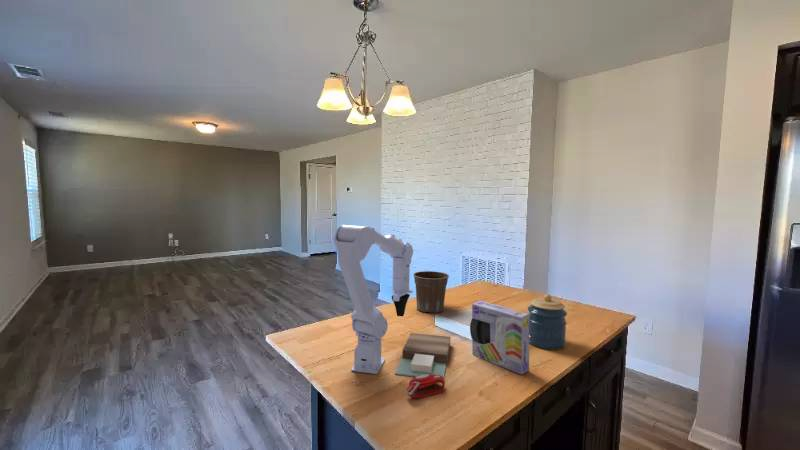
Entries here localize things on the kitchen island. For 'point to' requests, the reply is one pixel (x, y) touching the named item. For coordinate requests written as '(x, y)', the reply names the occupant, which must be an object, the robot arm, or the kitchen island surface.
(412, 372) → the mat
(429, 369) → the tile
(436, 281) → the plant pot
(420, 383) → the tracker holder
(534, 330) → the canister
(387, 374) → the kitchen island surface
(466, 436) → the kitchen island surface
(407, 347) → the board
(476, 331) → the cake pan box
